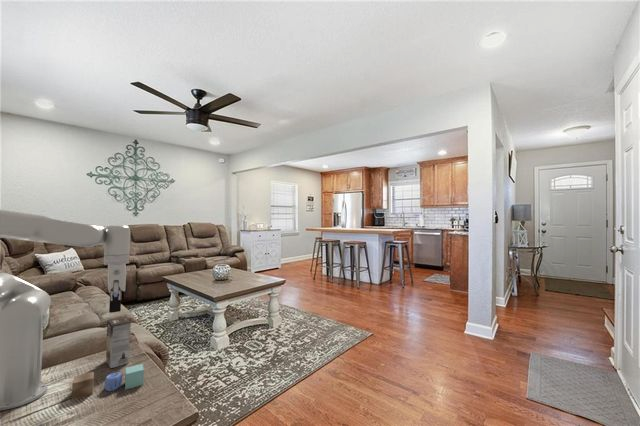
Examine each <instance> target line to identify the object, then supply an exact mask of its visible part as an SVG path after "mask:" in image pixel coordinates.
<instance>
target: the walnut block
mask: <svg viewBox="0 0 640 426" xmlns="http://www.w3.org/2000/svg"><path fill="white" fill-rule="evenodd" d="M94 378H95V371H91V372H87V373H84V374H82V373H81V374H78V375H75V376H73V380H72V385H71V387H72V388H71V401H72V400H76V399H80V398H84V397H87V396H88V397H89V396H91V395H93V393H94V392H93V391H94V382H95V381H94Z"/></svg>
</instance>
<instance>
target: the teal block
mask: <svg viewBox="0 0 640 426" xmlns="http://www.w3.org/2000/svg"><path fill="white" fill-rule="evenodd" d="M124 370H125V373H124V386H125V387H124V388H125V390H129V389H132V388H136V387H140V386H143V385H144V379H145V378H144V376H145V375H144V373H145V369H144V364H143V363H141V364H136V365H133V366H127V367H125V369H124Z"/></svg>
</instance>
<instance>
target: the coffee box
mask: <svg viewBox="0 0 640 426" xmlns="http://www.w3.org/2000/svg"><path fill="white" fill-rule="evenodd" d="M106 323H107V325H106V326H107V327H106V347H105V348H106V349H105V350H106V352H105V361H106V364H107V365H108V367H109V369H114V368H116V367H120V366H123V365H126V364H130V349H131V348H130V347H131V344H130V341H131V323H132V322H131V321H130V319H129V318H128V317H127V316H121V317H116V318H112V319H111V318H110V319H108V320H107V322H106Z"/></svg>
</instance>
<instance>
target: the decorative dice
mask: <svg viewBox="0 0 640 426" xmlns="http://www.w3.org/2000/svg"><path fill="white" fill-rule="evenodd" d="M122 382H123V374H122V373H121V372H112V373H110V374H108V375H106V377H105V379H104V385H103V386H104V390H105V391H107V392H112V391H116V390H118V389H119V388H120V387H122Z"/></svg>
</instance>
